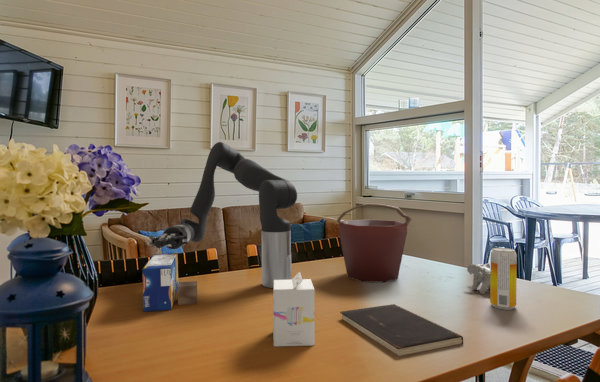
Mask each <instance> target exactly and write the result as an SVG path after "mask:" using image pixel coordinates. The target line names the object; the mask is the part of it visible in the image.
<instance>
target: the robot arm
mask: <svg viewBox="0 0 600 382" xmlns="http://www.w3.org/2000/svg"><path fill="white" fill-rule="evenodd" d="M217 168H220V169H222V170H224V171H226V172H229V173H230V174H231V173H232V174H233V175H234V178H235V180H236V181H237V182H238V183H240V184H241V185H242V186H243V187H245V188H246V189H249V190H252V191H254V192H255V191H256V192H258V205H259V208H258V209H259V220H260V225H261V226H260V227H261V286H263V287H265V288H271V289H273V283H274V280H290V279H292V248H291V247H292V245H291V242H292V241H291V239H292V237H291V236H292V235H291V233H292V232H291V231H292V229H291V228H292V227H291V226H292V225H291V222H290V221H289V220H288V219H287V220H286V219H284V218H281V217H280V216H278V211H277V210H283V209H284V210H286V209H289V208H292V207H293V206H294V205H295V204H296V202H297V199H298V193H297V189H296V187H295V185H294V184H293V183H292V182H291V181H290V180H288V179H286V178H284V177H280V176H278V175H276V174H274V173H273V172H271V171H269V170H268V169H266V168H264V167H263V166H262V165H260V164H259V163H257V162H256V161H254V160H252V159H249V158H245V156H243V155H242V154H241V153H240V151H238V150H237V149H235V148H233V147H232V146H230V145H228V144H227V143H224V142H222V141H219V142H216V143H215V144H214V145H212V147H211V148H210V151H209V154H208V157H207V159H206V163H205V167H204V170H203V173H202V178H201V182H200V185H199V188H198V190H197V193H196V195H195V197H194V199H193V202H192V205H191V207H190V209H189V210H190V211H189V212H190V214H192V215H193V216H195V217H196V218H197V221H198V223H197V222H195V221H193V220H191V219H187V218H183V219H181V220H180V221H179V222H178V224H176V225H172V226H169V227H168V228H166V229H165V230H164V231H163V232H162V234H161V235H158V236H154V235H150V236H149V245H152V246H154V247H156V249H157V248H159V249H161V248H162V249H163V248H164V247H166V248H168V249H169V250H177V249H180V248H181V247H183V246H185V245H188V243H189V242H194V243H199V242H201V241H202V240H203V239H204V236H205V233H206V224H207V220H208V217H209V214H210V213H209V212H210V211H211V208H212V206H213V204H214V201H215V197H216V196H215V195H216V191H215V189H216V188H215V172H216V169H217Z"/></svg>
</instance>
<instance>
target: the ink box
mask: <svg viewBox="0 0 600 382" xmlns="http://www.w3.org/2000/svg"><path fill="white" fill-rule="evenodd" d="M301 273H302V272H301V271H299V272H297V273H296V275H295V276H293V277H292V278H291V279H290V280H274V283H273V288H272V290H273V291H272V293H273V294H272V334H273V335H272V338H273V347H299V346H301V347H303V346H305V347H306V346H308V347H309V346H315V343H316V342H315V341H316V340H315V287H314V284H313V282H312V279H311V278H309V279H307V278H302V277H303V276H302V274H301Z"/></svg>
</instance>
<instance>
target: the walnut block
mask: <svg viewBox="0 0 600 382" xmlns="http://www.w3.org/2000/svg"><path fill="white" fill-rule="evenodd" d="M193 304H194V305H195V304H198V280H194V281H193V280H191V281H178V290H177V305H178V306H182V305H193Z"/></svg>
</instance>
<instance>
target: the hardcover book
mask: <svg viewBox="0 0 600 382" xmlns="http://www.w3.org/2000/svg"><path fill="white" fill-rule="evenodd" d="M339 313H340V314H341V315H342V317H341V318H342V320H344V322H346V323H348V325H351V326H352V327H354V328H356V329H357V330H358V331H360V332H361V333H363V334H364V335H366V336H367V337H369V338H371V339H372V340H373V341H375V342H377V343H378V344H380V345H381V346H383V347H384V348H386V349H388V350H389V351H391V352H392V353H393V354H395V355H397V356H398V357H401V356H406V355H407V356H408V355H411V354H415V353H421V352H427V351H430V350H435V349H441V348H445V347H449V346H451V347H452V346H455V345H460V344H461V345H463V344H464V337H463V335H461V334H459V333H456V332H455V331H453V330H450V329H448V328H446V327H443V326H442V325H440V324H437V323H436V322H433V321H431V320H429V319H427V318H424V317H422V316H420V315H418V314H416V313H414V312H412V311H410V310H408V309H405V308H403V307H401V306H399V305H397V304H394V303H393V304H385V305H378V306H373V307H372V306H371V307H370V306H369V307H365V308H357V309H350V310H344V311H343V310H342V311H340V312H339Z"/></svg>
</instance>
